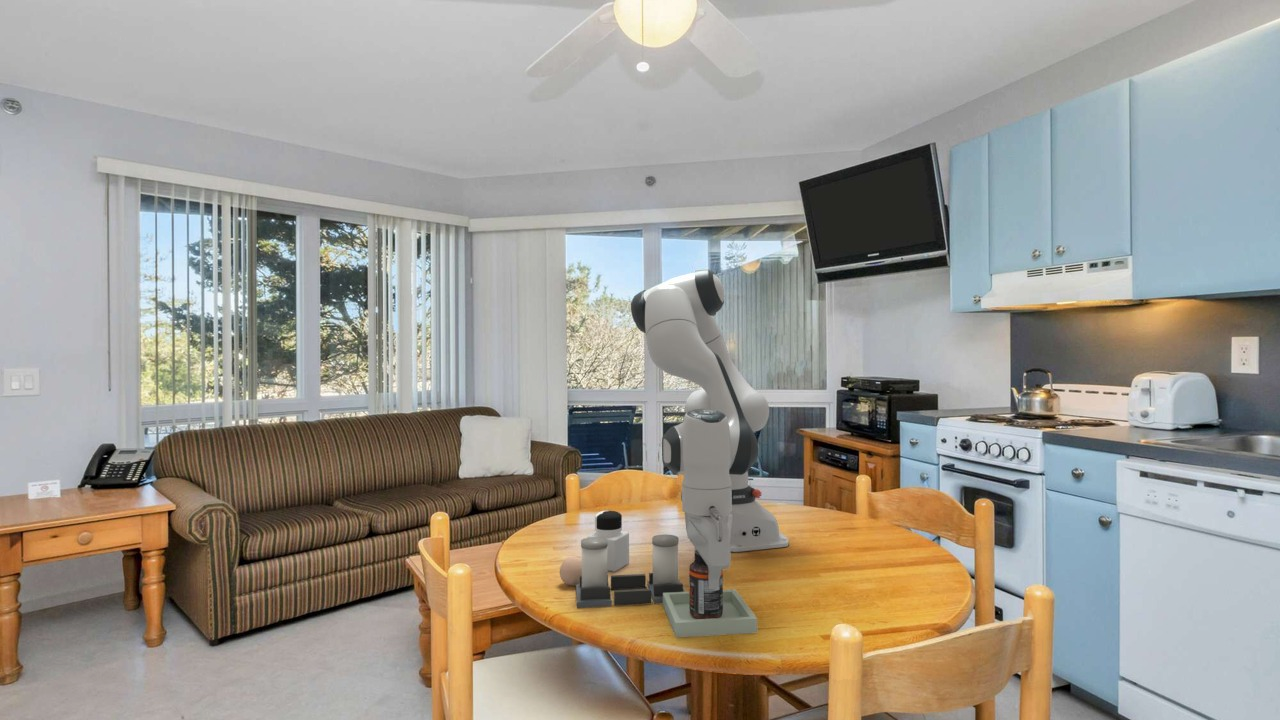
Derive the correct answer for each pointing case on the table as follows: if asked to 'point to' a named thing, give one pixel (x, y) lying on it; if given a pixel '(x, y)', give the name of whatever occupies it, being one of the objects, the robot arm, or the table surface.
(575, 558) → the egg
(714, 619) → the tray
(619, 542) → the medicine bottle
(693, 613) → the supplement bottle
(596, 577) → the fuse holder
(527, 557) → the table surface
